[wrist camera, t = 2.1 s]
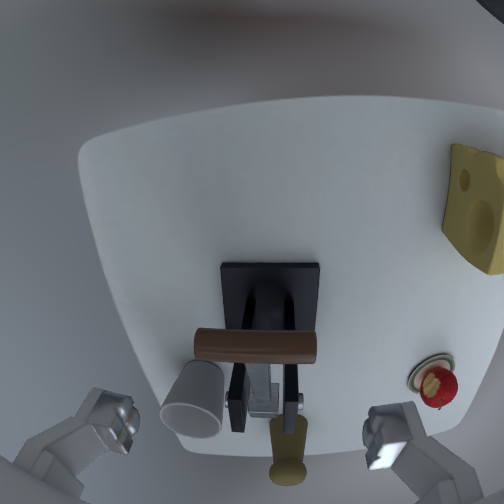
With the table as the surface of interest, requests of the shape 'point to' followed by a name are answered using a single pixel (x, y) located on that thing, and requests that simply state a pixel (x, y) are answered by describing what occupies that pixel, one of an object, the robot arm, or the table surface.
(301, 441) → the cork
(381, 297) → the table surface
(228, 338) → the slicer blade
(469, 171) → the cheese
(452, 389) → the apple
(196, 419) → the cup
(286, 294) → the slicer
